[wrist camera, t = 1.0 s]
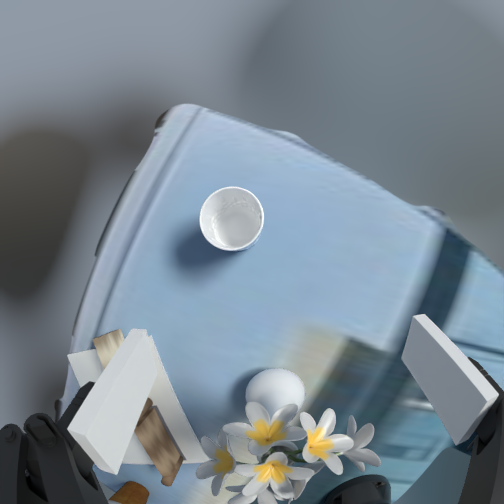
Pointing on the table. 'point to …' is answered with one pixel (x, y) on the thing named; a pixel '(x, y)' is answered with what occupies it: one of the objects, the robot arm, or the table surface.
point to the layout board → (163, 402)
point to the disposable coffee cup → (130, 494)
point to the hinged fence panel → (108, 345)
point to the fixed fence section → (158, 444)
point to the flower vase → (281, 443)
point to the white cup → (231, 219)
